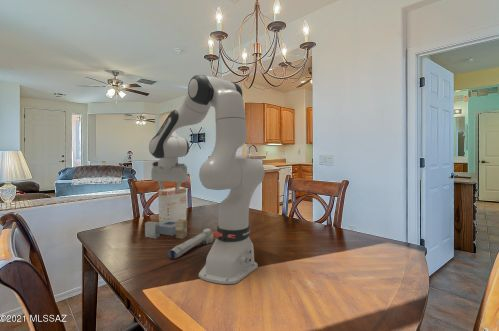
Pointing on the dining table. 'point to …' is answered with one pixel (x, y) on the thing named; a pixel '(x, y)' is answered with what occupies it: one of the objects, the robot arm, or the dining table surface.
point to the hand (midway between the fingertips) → (169, 190)
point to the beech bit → (181, 228)
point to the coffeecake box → (172, 204)
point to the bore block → (167, 227)
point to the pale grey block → (152, 229)
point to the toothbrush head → (191, 243)
